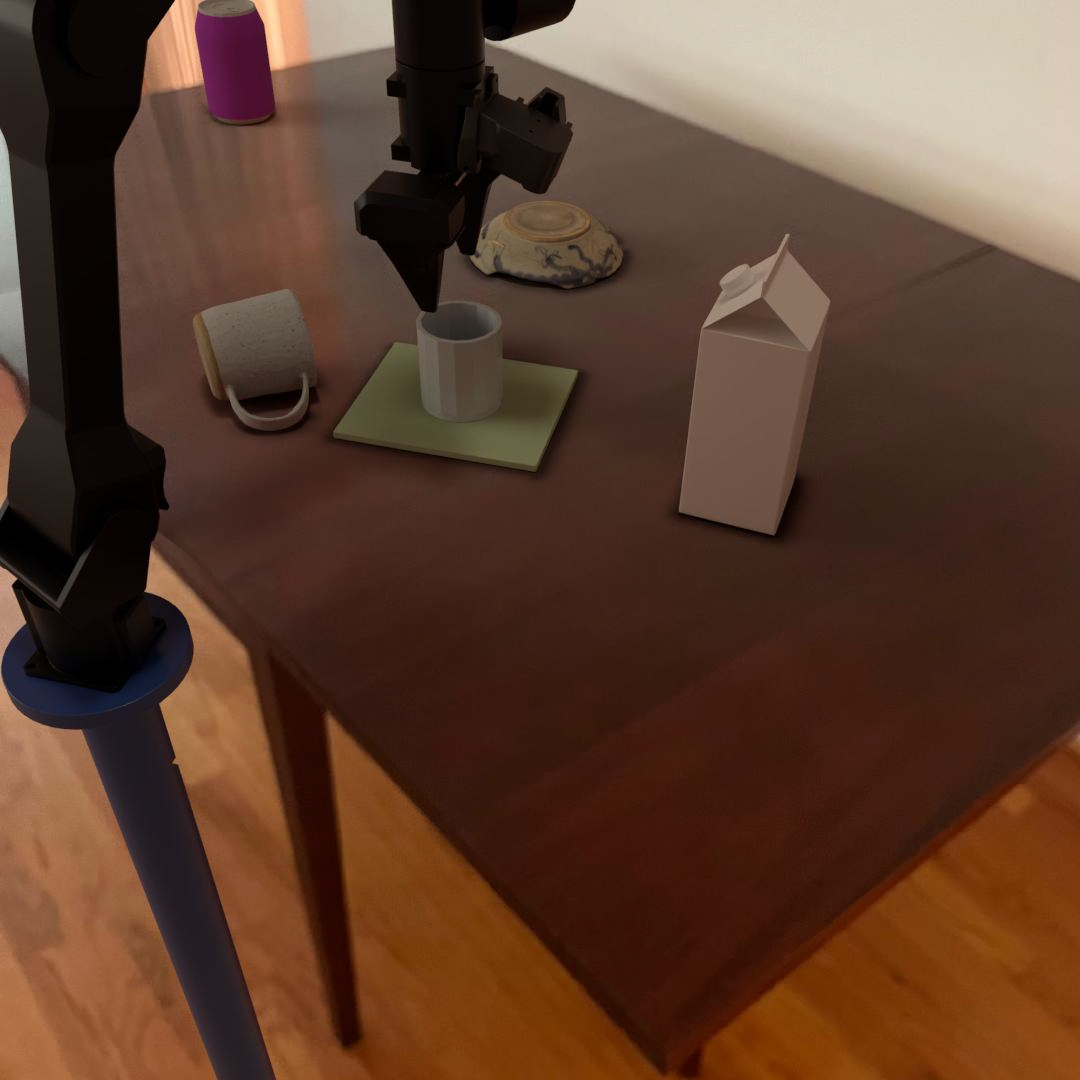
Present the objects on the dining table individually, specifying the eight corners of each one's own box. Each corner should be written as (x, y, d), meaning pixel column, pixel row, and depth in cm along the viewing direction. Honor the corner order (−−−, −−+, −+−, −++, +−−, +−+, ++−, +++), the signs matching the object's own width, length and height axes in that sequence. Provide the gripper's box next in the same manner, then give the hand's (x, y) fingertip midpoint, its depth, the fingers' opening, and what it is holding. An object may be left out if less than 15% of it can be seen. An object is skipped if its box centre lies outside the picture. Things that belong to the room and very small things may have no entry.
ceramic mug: (200, 374, 93) (182, 288, 88) (299, 355, 96) (287, 271, 91) (229, 446, 86) (211, 358, 81) (335, 423, 89) (324, 337, 84)
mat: (333, 438, 87) (332, 431, 87) (395, 347, 98) (395, 341, 97) (536, 472, 85) (536, 465, 85) (578, 376, 95) (578, 370, 95)
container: (410, 415, 89) (404, 335, 84) (436, 373, 94) (431, 295, 89) (489, 428, 88) (487, 348, 83) (511, 385, 93) (511, 307, 88)
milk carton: (794, 482, 86) (842, 243, 73) (774, 538, 81) (822, 292, 68) (702, 460, 87) (734, 223, 74) (677, 514, 82) (707, 270, 69)
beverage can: (290, 112, 136) (276, 3, 128) (244, 132, 131) (227, 19, 123) (242, 98, 139) (225, -9, 131) (195, 116, 134) (175, 6, 126)
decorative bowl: (442, 240, 113) (518, 303, 104) (441, 203, 111) (518, 265, 102) (570, 211, 120) (652, 269, 110) (572, 176, 117) (656, 232, 108)
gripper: (524, 123, 65) (523, 362, 75) (594, 28, 79) (585, 242, 89) (339, 99, 66) (363, 337, 77) (439, 10, 80) (448, 223, 91)
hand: (449, 281), depth 83 cm, fingers open, 9 cm apart
